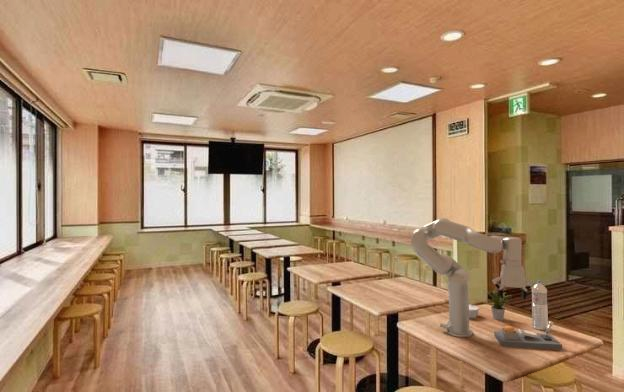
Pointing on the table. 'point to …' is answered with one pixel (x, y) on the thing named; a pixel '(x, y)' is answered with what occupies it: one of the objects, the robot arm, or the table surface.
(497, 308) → the house plant
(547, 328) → the toggle lever
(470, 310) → the ramekin
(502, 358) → the table surface
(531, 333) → the rocker switch
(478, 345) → the table surface
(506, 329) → the push button
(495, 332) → the control panel
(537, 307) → the water bottle
